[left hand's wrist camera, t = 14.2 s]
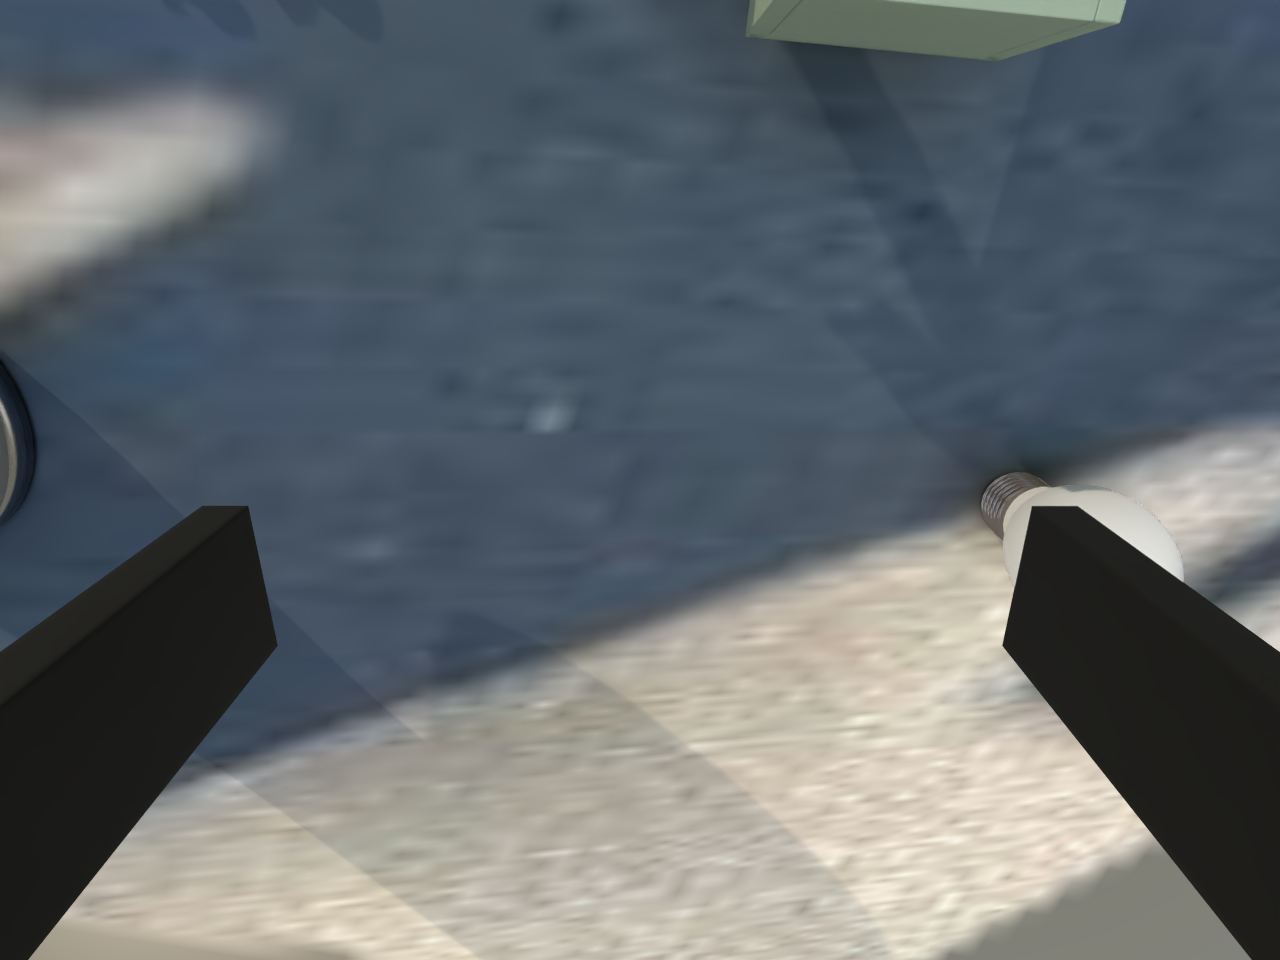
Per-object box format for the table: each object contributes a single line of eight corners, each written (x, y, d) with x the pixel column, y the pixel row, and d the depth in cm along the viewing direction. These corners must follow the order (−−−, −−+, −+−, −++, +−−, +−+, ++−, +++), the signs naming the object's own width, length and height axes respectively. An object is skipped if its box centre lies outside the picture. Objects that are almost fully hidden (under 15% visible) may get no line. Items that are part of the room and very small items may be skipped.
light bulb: (931, 513, 41) (1028, 620, 31) (1023, 421, 39) (1159, 502, 29) (1014, 578, 43) (1132, 701, 32) (1106, 492, 41) (1263, 594, 31)
